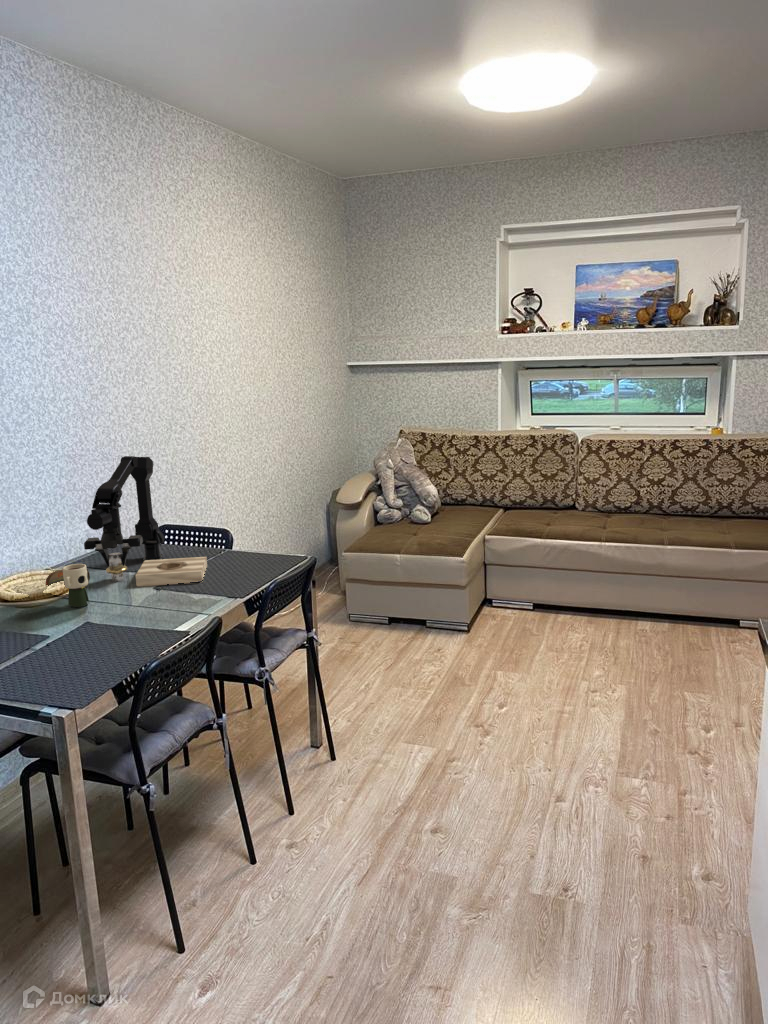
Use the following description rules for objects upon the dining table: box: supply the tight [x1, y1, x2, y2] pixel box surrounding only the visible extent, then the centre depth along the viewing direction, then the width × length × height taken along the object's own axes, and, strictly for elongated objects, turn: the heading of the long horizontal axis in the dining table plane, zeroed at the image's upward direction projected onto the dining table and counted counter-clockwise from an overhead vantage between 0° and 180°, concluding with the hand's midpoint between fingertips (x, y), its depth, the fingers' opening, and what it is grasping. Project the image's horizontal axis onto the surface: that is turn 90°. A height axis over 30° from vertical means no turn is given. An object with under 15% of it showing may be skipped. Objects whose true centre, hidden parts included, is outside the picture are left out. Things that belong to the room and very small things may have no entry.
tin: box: [45, 568, 91, 588], centre depth 263 cm, size 15×3×8 cm, turn 143°
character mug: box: [62, 563, 90, 608], centre depth 249 cm, size 11×7×13 cm, turn 173°
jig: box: [135, 556, 208, 587], centre depth 277 cm, size 18×22×4 cm
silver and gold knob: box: [105, 552, 128, 583], centre depth 274 cm, size 7×7×9 cm
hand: (116, 565), depth 274 cm, fingers closed on silver and gold knob, 5 cm apart
